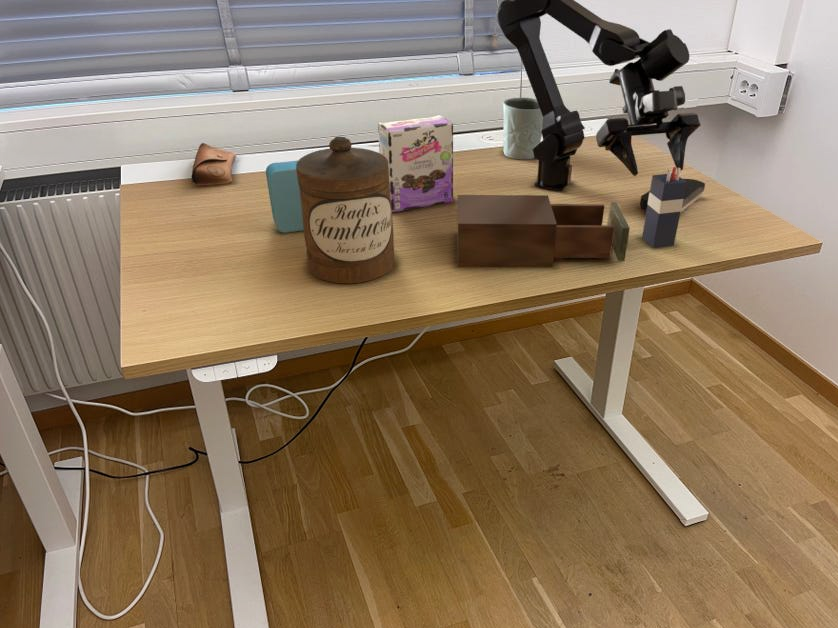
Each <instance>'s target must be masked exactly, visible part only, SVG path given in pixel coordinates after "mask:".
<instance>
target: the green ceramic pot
mask: <svg viewBox="0 0 838 628" xmlns="http://www.w3.org/2000/svg"><path fill="white" fill-rule="evenodd" d="M502 108H503V131H502V132H503V154H504V156H506V157H507V158H510V159H515V160H532V159H535V158H534V153H533V148H534V147H536V146H537V145H538V144H539V143H540V142H541V141H542V138H543V137H542V133H541V127H542V113H541V110H540V108H539V105H538V102H537V100H536V98H532V97H510V98H507V99H504V101H503V107H502Z"/></svg>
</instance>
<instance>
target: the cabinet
mask: <svg viewBox="0 0 838 628" xmlns="http://www.w3.org/2000/svg"><path fill="white" fill-rule="evenodd" d="M456 198H457V203H456V204H457V205H456V206H457V209H456V210H457V214H456V215H457V218H456V219H457V220H456V221H457V222H456V223H457V224H456V225H457V227H456V229H457V230H456V231H457V232H456V234H457V235H456V237H457V238H456V239H457V240H456V241H457V267H459V268H460V267H461V268H477V267H478V268H487V267H488V268H553V267H554V258H555V257H554V248H555V237H556V226H557V224H556V220H555V217H554V214H553V210H552V207H551V204H552V203H551V200H550V197H549V195H543V194H542V195H541V194H540V195H539V194H538V195H537V194H536V195H535V194H533V195H532V194H529V195H528V194H526V195H525V194H518V195H517V194H509V195H508V194H457V197H456Z"/></svg>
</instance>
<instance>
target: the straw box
mask: <svg viewBox="0 0 838 628" xmlns="http://www.w3.org/2000/svg"><path fill="white" fill-rule="evenodd" d="M680 170H681V169H680V168H676V166H674V167H672V169H671V168H668V169H667V173H660V174H652V176H651V182H650V188H649V191H650V192H649V191H648V192H649V198H648V205H647V211H645V217H644V223H643V228H642V229H643V230H642V235H641V239H642V240H643V241H644V242H645V243H647V244H648V245H649V246H650V247H651V248H652V249H657V248H665V247H673V246H675V242H676V238H677V232H678V227H679V222H680V218H681V213H682V212H681V209H682V204H683V198H684V193H685V188H686V183H687V182H686V181H685V180H683V179H684V178H682V177H681V176H680V175H681V171H680Z"/></svg>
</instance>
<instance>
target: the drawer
mask: <svg viewBox="0 0 838 628" xmlns="http://www.w3.org/2000/svg"><path fill="white" fill-rule="evenodd" d="M550 204H551V207H552V210H553V214H554V217H555V220H556V224H557V226H556V237H555V248H554V258H569V259H570V258H573V259H574V258H577V259H578V258H582V259H584V258H589V259H590V258H591V259H594V258H595V259H596V258H597V259H599V258H601V259H603V258H604V259H605V258H607V259H608V258H611V252H612V250H613V253H614V255H615V257H616V260H617V262H625V260H626V253H627V248H628V242H629V235H630V229H631V228H630V226H629V224H628V222H627V220H626V218H625V215H624V214H623V212H622V210H621V208H620V206H619V204H618V202H617V201H610V202H609V208H608V209H609V210H608V217H607V223H606V225H605V224H604V225H603V220H604V213H605V204H602V203H598V204H597V203H550Z"/></svg>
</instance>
